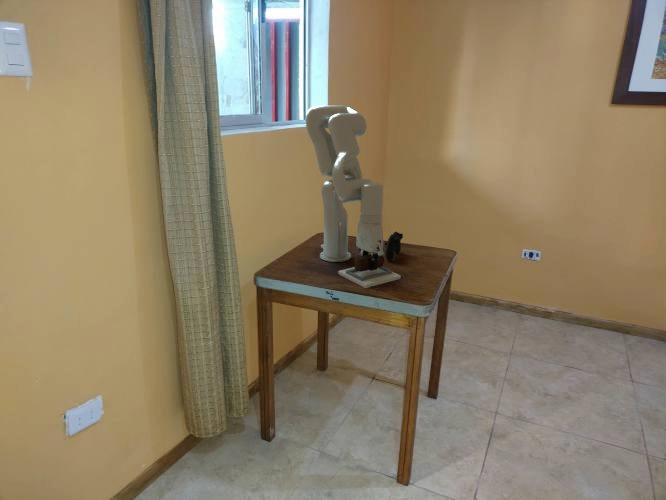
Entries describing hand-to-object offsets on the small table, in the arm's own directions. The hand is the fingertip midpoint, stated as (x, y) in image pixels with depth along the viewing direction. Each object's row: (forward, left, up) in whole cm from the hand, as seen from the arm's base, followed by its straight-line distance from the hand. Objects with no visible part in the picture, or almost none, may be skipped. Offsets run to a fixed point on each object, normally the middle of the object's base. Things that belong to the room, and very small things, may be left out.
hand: (369, 267), depth 165 cm
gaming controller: (-12, +22, -4) cm, 25 cm away
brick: (0, 0, 0) cm, 1 cm away
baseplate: (0, 0, -3) cm, 3 cm away
